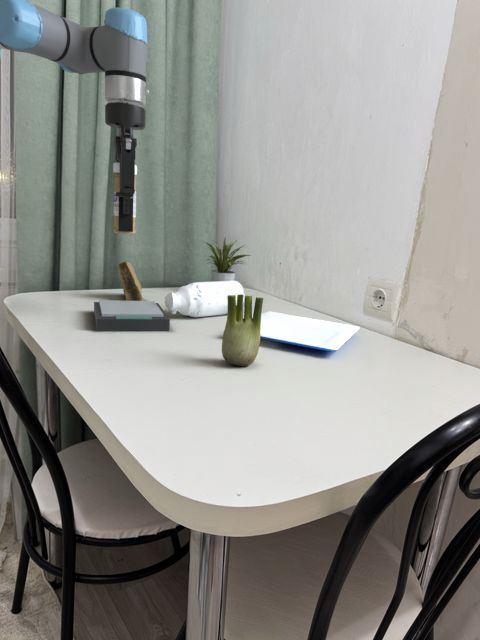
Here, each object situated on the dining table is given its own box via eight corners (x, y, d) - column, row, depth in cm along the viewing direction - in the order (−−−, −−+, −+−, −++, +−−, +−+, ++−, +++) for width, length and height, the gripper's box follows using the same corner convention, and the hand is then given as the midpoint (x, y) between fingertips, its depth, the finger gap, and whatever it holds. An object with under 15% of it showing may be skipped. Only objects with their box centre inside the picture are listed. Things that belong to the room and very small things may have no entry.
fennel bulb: (259, 363, 87) (266, 294, 83) (250, 371, 82) (256, 299, 79) (228, 357, 88) (233, 289, 85) (217, 365, 84) (222, 293, 81)
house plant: (214, 299, 139) (218, 238, 134) (186, 289, 149) (189, 233, 144) (253, 296, 148) (258, 239, 144) (224, 287, 158) (228, 234, 153)
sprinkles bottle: (108, 232, 102) (108, 161, 99) (125, 232, 106) (126, 164, 102) (123, 234, 100) (124, 162, 96) (140, 234, 104) (142, 165, 100)
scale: (93, 312, 112) (93, 299, 111) (157, 313, 117) (158, 300, 116) (96, 331, 97) (96, 315, 97) (169, 330, 102) (170, 316, 101)
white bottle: (158, 315, 114) (159, 280, 112) (223, 309, 127) (225, 277, 125) (177, 323, 109) (179, 287, 106) (244, 316, 121) (246, 283, 119)
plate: (359, 335, 113) (360, 326, 113) (335, 359, 93) (337, 349, 92) (266, 319, 121) (267, 310, 120) (226, 338, 100) (226, 328, 100)
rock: (115, 284, 134) (100, 284, 125) (136, 260, 133) (122, 258, 123) (145, 312, 135) (132, 314, 125) (166, 288, 133) (154, 289, 123)
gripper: (151, 101, 90) (148, 235, 96) (140, 114, 105) (138, 228, 112) (107, 94, 87) (107, 232, 94) (102, 108, 103) (103, 226, 109)
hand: (124, 230), depth 103 cm, fingers closed on sprinkles bottle, 4 cm apart
